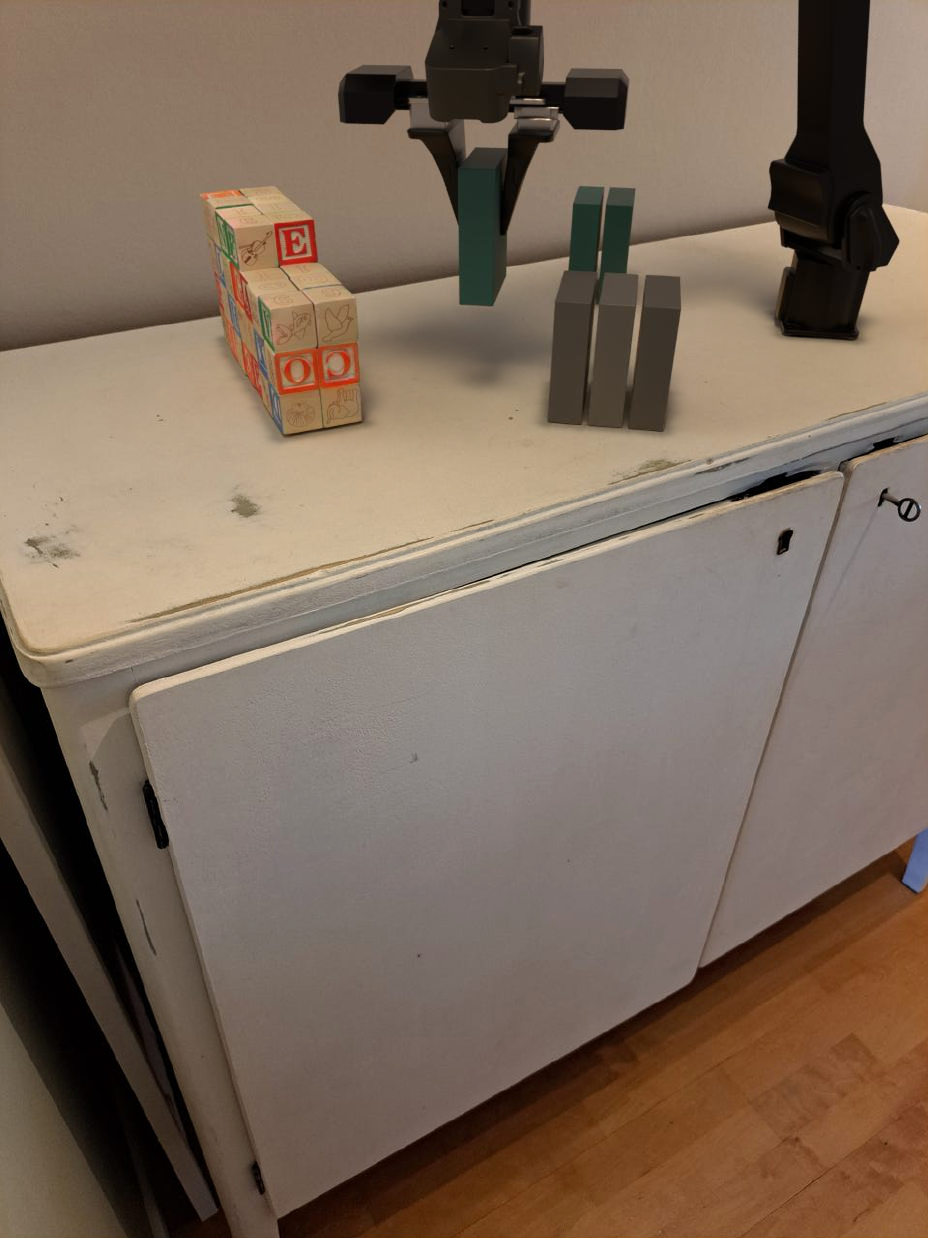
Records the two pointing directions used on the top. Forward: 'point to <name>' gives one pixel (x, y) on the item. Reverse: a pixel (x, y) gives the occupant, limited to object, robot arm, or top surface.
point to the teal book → (481, 226)
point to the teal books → (589, 230)
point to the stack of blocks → (283, 309)
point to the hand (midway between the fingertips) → (483, 233)
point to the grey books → (613, 349)
